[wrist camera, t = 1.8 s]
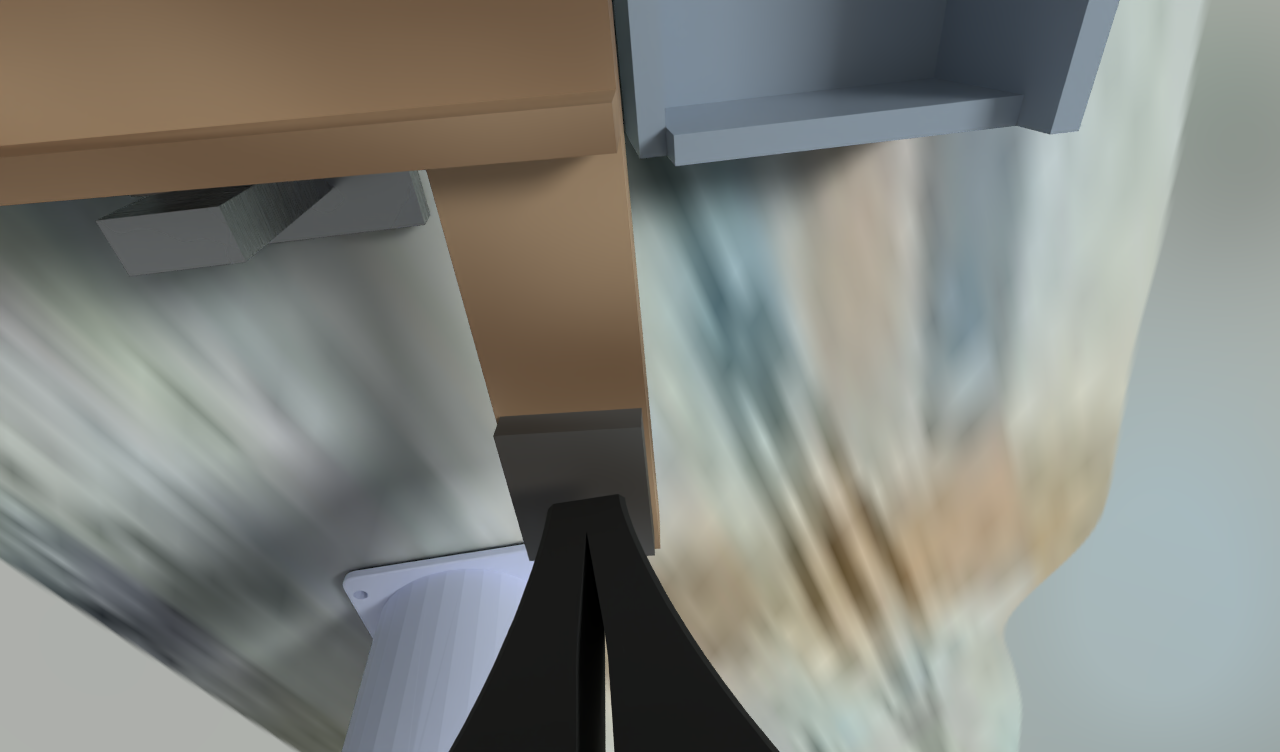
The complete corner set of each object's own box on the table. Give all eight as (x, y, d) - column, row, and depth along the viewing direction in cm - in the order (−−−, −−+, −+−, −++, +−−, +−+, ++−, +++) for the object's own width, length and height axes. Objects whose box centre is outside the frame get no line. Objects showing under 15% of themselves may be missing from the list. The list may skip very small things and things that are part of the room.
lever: (659, 501, 15) (661, 609, 12) (68, 532, 16) (-47, 638, 13) (560, -590, 6) (493, -1039, 3) (-769, -381, 7) (-1632, -611, 4)
